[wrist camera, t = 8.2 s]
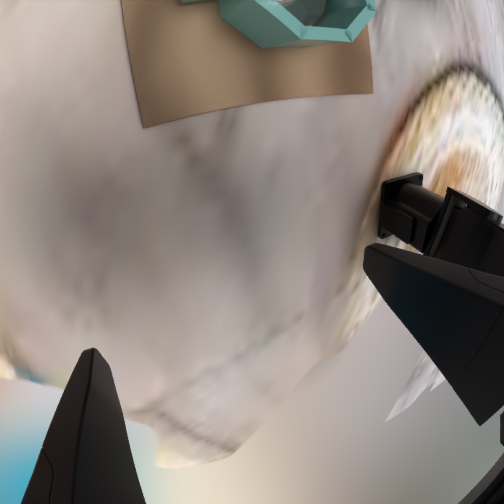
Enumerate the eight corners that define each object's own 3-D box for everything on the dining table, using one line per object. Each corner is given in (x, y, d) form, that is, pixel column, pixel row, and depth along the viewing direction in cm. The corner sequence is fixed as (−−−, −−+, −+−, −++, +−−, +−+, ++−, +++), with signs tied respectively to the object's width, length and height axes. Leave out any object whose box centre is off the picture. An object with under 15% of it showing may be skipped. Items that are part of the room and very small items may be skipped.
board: (348, -48, 13) (353, -49, 12) (368, 92, 21) (373, 93, 20) (116, -54, 8) (116, -58, 8) (143, 127, 16) (144, 128, 16)
